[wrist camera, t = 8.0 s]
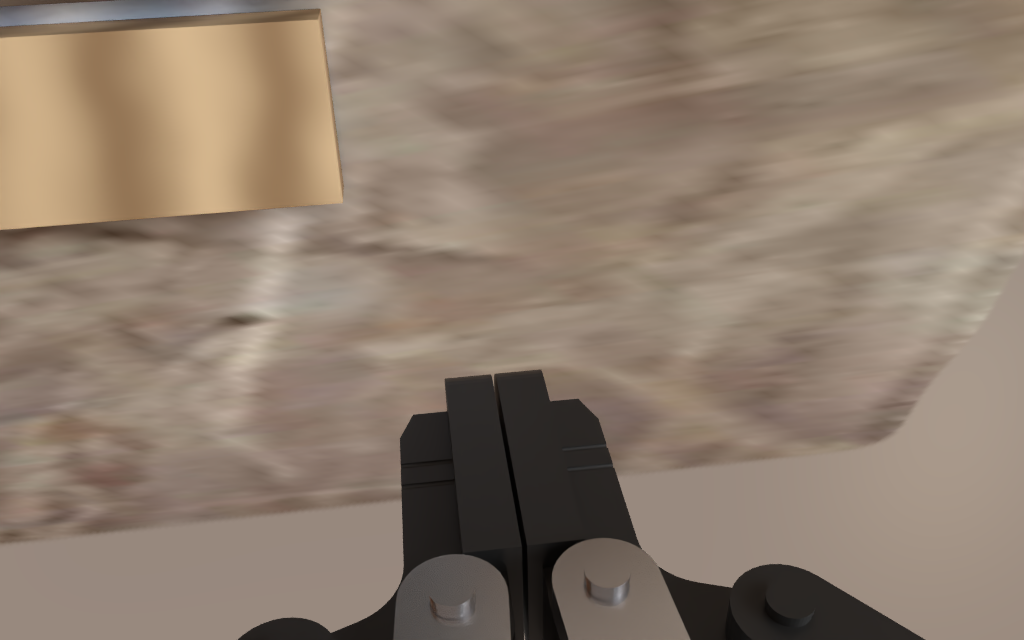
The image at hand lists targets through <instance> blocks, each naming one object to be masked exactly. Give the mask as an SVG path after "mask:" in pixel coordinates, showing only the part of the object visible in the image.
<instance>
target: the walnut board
mask: <svg viewBox="0 0 1024 640" xmlns="http://www.w3.org/2000/svg"><path fill="white" fill-rule="evenodd" d="M94 1H113V0H0V7H2V6H20V5H39V4H57V3H76V2H94Z"/></svg>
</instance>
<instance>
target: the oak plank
mask: <svg viewBox="0 0 1024 640" xmlns="http://www.w3.org/2000/svg"><path fill="white" fill-rule="evenodd" d="M343 187H344V185H343V177H342V169H341V162H340V154H339V147H338V139H337V131H336V124H335V116H334V109H333V101H332V93H331V86H330V78H329V71H328V63H327V55H326V48H325V40H324V33H323V25H322V17H321V10H320V9H308V10H291V11H273V12H255V13H237V14H220V15H202V16H184V17H166V18H149V19H131V20H113V21H95V22H78V23H60V24H42V25H25V26H7V27H0V230H4V229H17V228H30V227H43V226H55V225H68V224H81V223H93V222H106V221H119V220H131V219H144V218H157V217H170V216H182V215H195V214H208V213H220V212H233V211H246V210H259V209H271V208H284V207H297V206H309V205H322V204H335V203H343Z"/></svg>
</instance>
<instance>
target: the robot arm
mask: <svg viewBox="0 0 1024 640" xmlns="http://www.w3.org/2000/svg"><path fill="white" fill-rule="evenodd" d="M445 390H446V403H447V412H437V413H427V414H416V415H413V416H412V418H411V420H410V422H409V423H408V425H407V427H406V429H405V430H404V432H403V434H402V436H401V438H400V453H401V485H402V519H403V554H404V570H403V576H402V580H401V583H400V585H399V587H398V589H397V591H396V592H395V594H394V595H393V597H392V598H391V599H390V600H389V601H388V602H387V603H386V604H385V605H384V606H383V607H382V608H381V609H379V610H378V611H377V612H375V613H374V614H372V615H371V616H369V617H367V618H365V619H363V620H361V621H359V622H357V623H354V624H352V625H349V626H347V627H345V628H342V629H340V630H337V631H335V632H333V633H330V632H329V631H328V630H327V629H326V628H325V627H323V626H322V625H320V624H318V623H316V622H314V621H311V620H307V619H303V618H281V619H277V620H272V621H269V622H266V623H264V624H261V625H259V626H257V627H255V628H253V629H251V630H250V631H248V632H247V633H246V634H244V635H243V636H241V637H240V638H239V639H238V640H524V635H525V640H925V639H923V638H921V637H920V636H918V635H916V634H914V633H913V632H911V631H910V630H908V629H906V628H905V627H903V626H901V625H899V624H898V623H896V622H894V621H893V620H891V619H889V618H888V617H886V616H884V615H882V614H881V613H879V612H878V611H876V610H874V609H873V608H871V607H869V606H867V605H866V604H864V603H862V602H861V601H859V600H857V599H856V598H854V597H852V596H850V595H849V594H847V593H846V592H844V591H842V590H840V589H839V588H837V587H835V586H834V585H832V584H830V583H829V582H827V581H825V580H824V579H822V578H820V577H819V576H817V575H815V574H813V573H811V572H809V571H806V570H804V569H801V568H798V567H794V566H790V565H782V564H769V565H763V566H759V567H756V568H753V569H751V570H749V571H747V572H745V573H744V574H743V575H742V576H740V577H739V578H738V580H737V581H736V582H735V583H734V586H733V588H729V587H723V586H717V585H710V584H704V583H698V582H693V581H689V580H685V579H682V578H679V577H676V576H674V575H672V574H670V573H668V572H666V571H664V570H663V569H662V568H660V567H658V566H657V564H656V563H655V561H654V560H653V559H652V558H651V557H650V556H649V555H648V554H647V553H646V552H645V551H644V550H642V548H641V547H640V545H639V543H638V540H637V537H636V534H635V531H634V528H633V525H632V522H631V519H630V515H629V512H628V509H627V506H626V503H625V500H624V497H623V494H622V491H621V488H620V484H619V481H618V478H617V475H616V472H615V469H614V468H613V464H612V460H611V457H610V454H609V450H608V448H607V447H606V441H605V438H604V435H603V432H602V429H601V426H600V423H599V419H598V418H597V417H596V416H595V415H594V414H593V413H592V412H591V411H590V410H589V409H588V408H587V407H586V406H585V405H584V404H583V403H582V402H581V401H580V400H579V399H571V400H561V401H550V400H549V396H548V392H547V388H546V384H545V381H544V377H543V373H542V371H541V370H531V371H521V372H510V373H499V374H495V375H494V386H493V381H492V376H491V374H490V375H479V376H468V377H458V378H447V379H445ZM494 391H495V392H494Z"/></svg>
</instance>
